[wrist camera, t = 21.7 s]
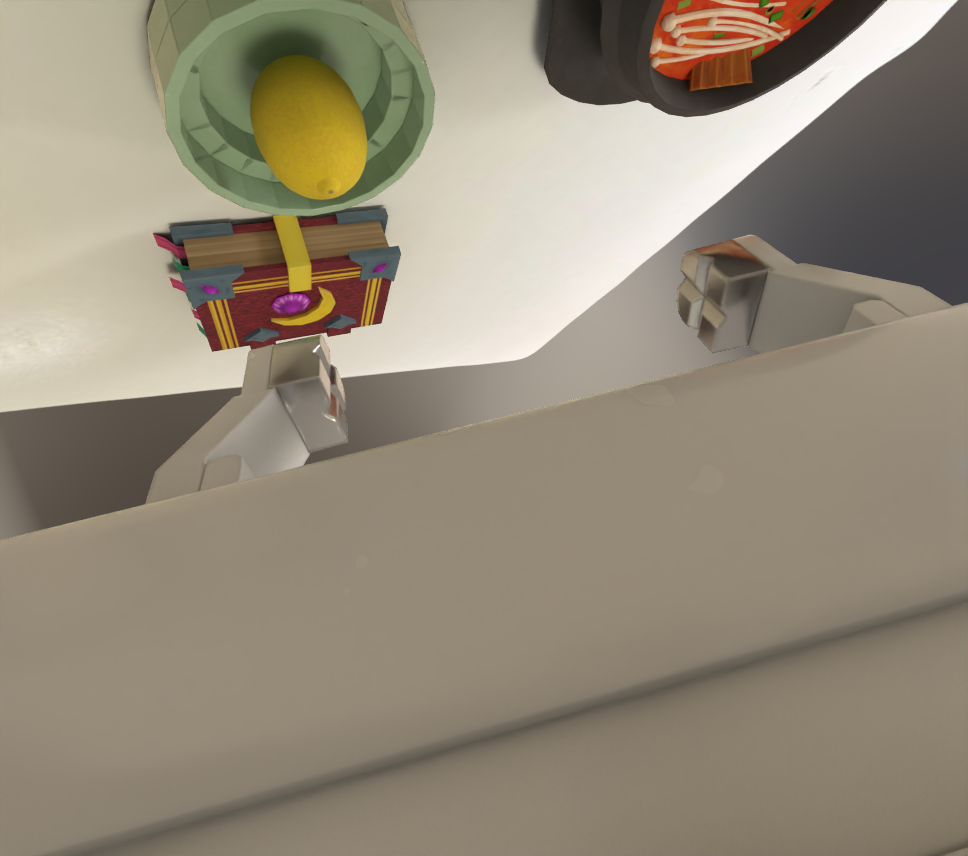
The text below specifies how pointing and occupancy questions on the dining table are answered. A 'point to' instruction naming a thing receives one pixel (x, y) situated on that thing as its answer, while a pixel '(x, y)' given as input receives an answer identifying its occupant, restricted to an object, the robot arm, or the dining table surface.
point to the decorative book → (285, 276)
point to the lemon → (308, 127)
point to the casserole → (691, 48)
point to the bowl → (243, 56)
